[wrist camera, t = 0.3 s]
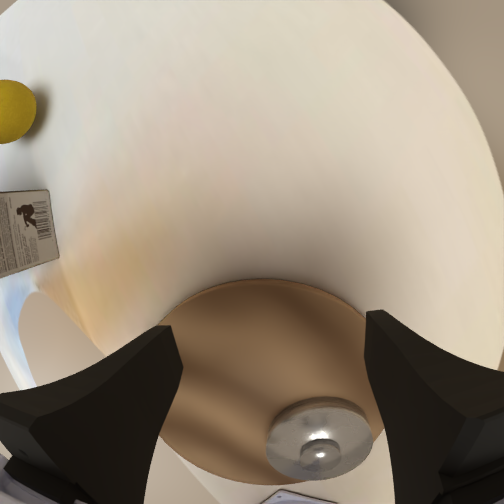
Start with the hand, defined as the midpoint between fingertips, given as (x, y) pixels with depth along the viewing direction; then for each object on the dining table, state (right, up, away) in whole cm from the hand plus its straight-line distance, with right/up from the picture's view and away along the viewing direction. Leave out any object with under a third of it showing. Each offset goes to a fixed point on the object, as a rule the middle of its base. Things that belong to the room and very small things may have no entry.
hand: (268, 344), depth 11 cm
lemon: (-21, +16, +10) cm, 28 cm away
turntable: (0, -8, +12) cm, 15 cm away
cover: (+5, -11, +10) cm, 16 cm away
